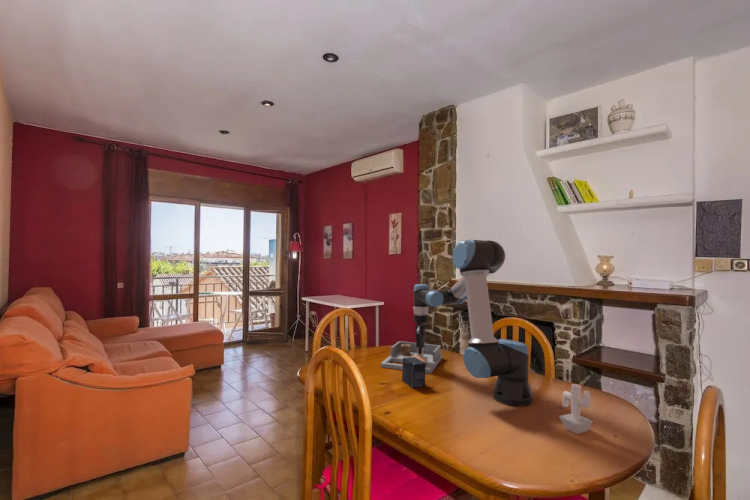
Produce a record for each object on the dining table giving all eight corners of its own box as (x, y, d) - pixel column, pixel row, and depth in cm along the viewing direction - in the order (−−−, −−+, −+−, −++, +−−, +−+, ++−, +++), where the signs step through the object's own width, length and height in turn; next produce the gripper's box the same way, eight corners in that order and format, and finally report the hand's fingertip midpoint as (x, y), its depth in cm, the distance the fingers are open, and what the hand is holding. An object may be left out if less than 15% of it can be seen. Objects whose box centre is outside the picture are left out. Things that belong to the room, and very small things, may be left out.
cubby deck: (442, 358, 204) (442, 345, 204) (431, 373, 178) (431, 359, 178) (397, 353, 214) (397, 341, 214) (380, 367, 188) (380, 353, 188)
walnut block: (410, 353, 207) (410, 344, 207) (410, 355, 202) (410, 346, 202) (401, 352, 207) (401, 343, 207) (400, 355, 202) (400, 346, 202)
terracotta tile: (427, 362, 189) (427, 357, 189) (423, 367, 181) (424, 361, 181) (412, 361, 192) (412, 355, 192) (408, 365, 184) (408, 359, 184)
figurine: (570, 421, 129) (571, 378, 129) (596, 434, 120) (596, 388, 120) (555, 425, 126) (556, 381, 126) (580, 438, 117) (581, 391, 118)
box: (425, 386, 161) (426, 362, 161) (412, 388, 159) (412, 364, 159) (414, 378, 171) (414, 356, 171) (401, 380, 169) (401, 357, 169)
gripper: (416, 311, 198) (416, 355, 198) (410, 315, 186) (409, 362, 186) (430, 312, 196) (430, 357, 196) (425, 316, 184) (424, 364, 184)
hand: (420, 359), depth 191 cm, fingers closed
